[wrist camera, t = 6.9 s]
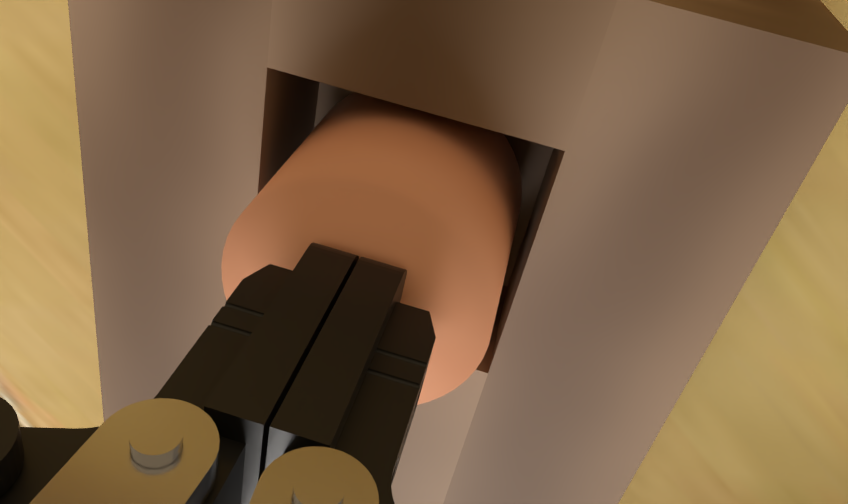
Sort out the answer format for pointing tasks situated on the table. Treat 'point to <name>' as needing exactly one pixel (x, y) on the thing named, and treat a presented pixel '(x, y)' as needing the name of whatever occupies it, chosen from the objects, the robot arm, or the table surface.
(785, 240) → the table surface
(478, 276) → the terracotta button
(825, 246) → the table surface
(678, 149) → the button panel
